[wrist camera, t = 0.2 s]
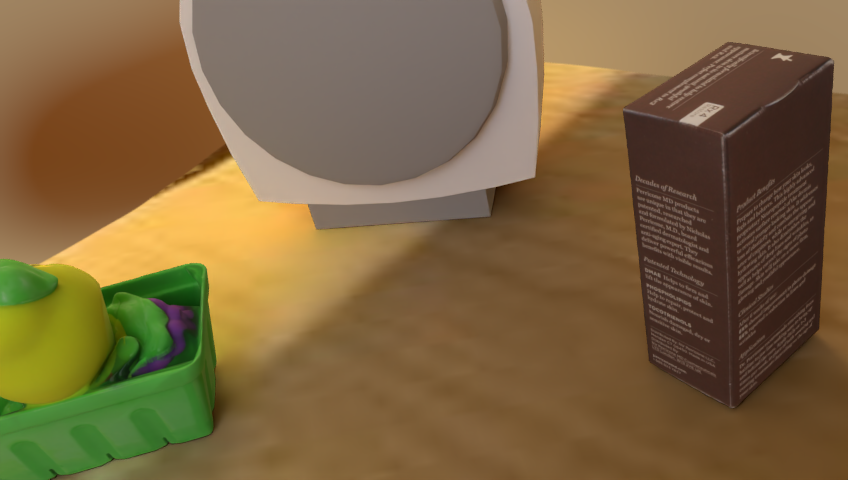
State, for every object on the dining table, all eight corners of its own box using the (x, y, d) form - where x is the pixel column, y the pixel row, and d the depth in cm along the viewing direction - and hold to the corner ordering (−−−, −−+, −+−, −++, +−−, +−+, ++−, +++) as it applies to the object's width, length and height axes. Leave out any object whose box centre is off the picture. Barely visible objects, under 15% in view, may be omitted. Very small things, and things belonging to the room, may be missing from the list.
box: (724, 289, 35) (728, 35, 29) (821, 332, 32) (850, 57, 25) (636, 362, 33) (616, 102, 26) (730, 417, 30) (736, 136, 23)
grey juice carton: (561, 149, 49) (516, -222, 37) (556, 229, 42) (500, -195, 31) (292, 174, 53) (180, -149, 42) (249, 250, 46) (101, -112, 35)
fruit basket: (242, 335, 40) (154, 140, 34) (241, 469, 33) (129, 252, 26) (21, 399, 39) (-110, 213, 33) (-30, 550, 32) (-212, 348, 26)
